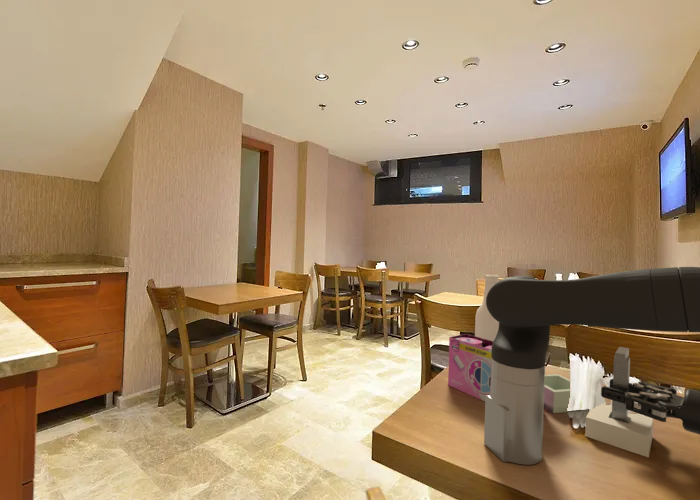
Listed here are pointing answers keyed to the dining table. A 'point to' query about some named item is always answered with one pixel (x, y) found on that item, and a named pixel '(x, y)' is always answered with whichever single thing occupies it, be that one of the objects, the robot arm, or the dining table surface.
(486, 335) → the alcohol
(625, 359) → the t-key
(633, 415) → the key block
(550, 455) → the dining table surface
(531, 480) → the dining table surface
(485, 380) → the gum box
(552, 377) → the bin
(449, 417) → the dining table surface
